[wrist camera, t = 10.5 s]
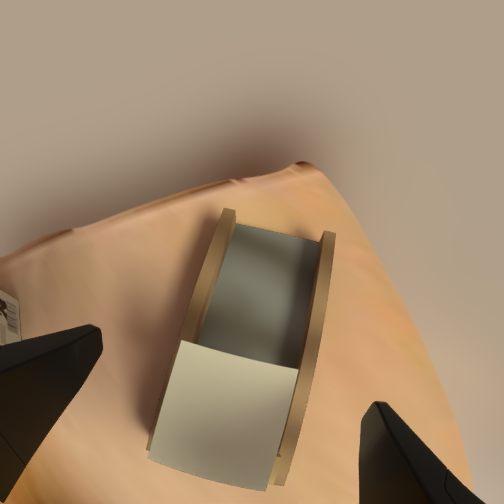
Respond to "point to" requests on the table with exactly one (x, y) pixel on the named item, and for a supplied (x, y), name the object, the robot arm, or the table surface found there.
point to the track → (262, 310)
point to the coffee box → (9, 319)
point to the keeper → (223, 416)
